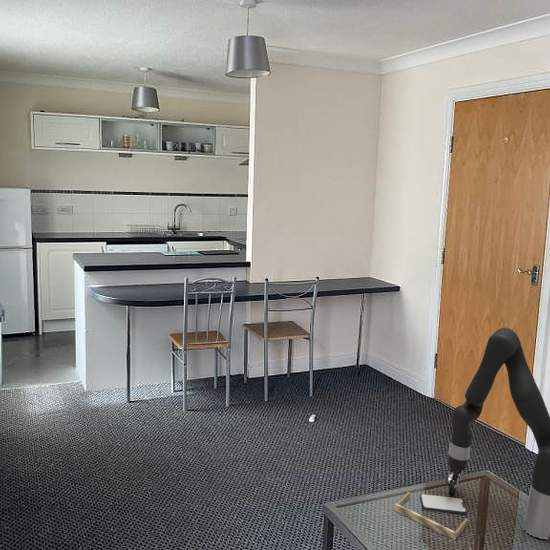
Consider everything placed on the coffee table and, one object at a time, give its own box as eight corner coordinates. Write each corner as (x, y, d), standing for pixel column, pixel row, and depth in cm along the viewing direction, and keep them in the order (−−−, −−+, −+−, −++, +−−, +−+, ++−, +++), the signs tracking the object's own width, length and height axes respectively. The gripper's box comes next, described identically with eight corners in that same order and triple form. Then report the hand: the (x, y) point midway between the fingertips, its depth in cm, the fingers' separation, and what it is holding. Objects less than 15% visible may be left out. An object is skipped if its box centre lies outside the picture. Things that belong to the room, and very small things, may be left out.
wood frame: (466, 525, 212) (468, 518, 211) (455, 540, 203) (456, 534, 203) (407, 497, 225) (408, 491, 224) (394, 510, 217) (395, 504, 216)
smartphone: (422, 511, 218) (467, 516, 217) (422, 507, 218) (467, 512, 217) (419, 497, 227) (462, 501, 226) (419, 493, 227) (462, 498, 225)
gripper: (461, 465, 217) (454, 506, 221) (475, 451, 227) (467, 491, 231) (442, 456, 221) (435, 498, 225) (456, 443, 231) (449, 483, 235)
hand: (451, 494), depth 228 cm, fingers closed
